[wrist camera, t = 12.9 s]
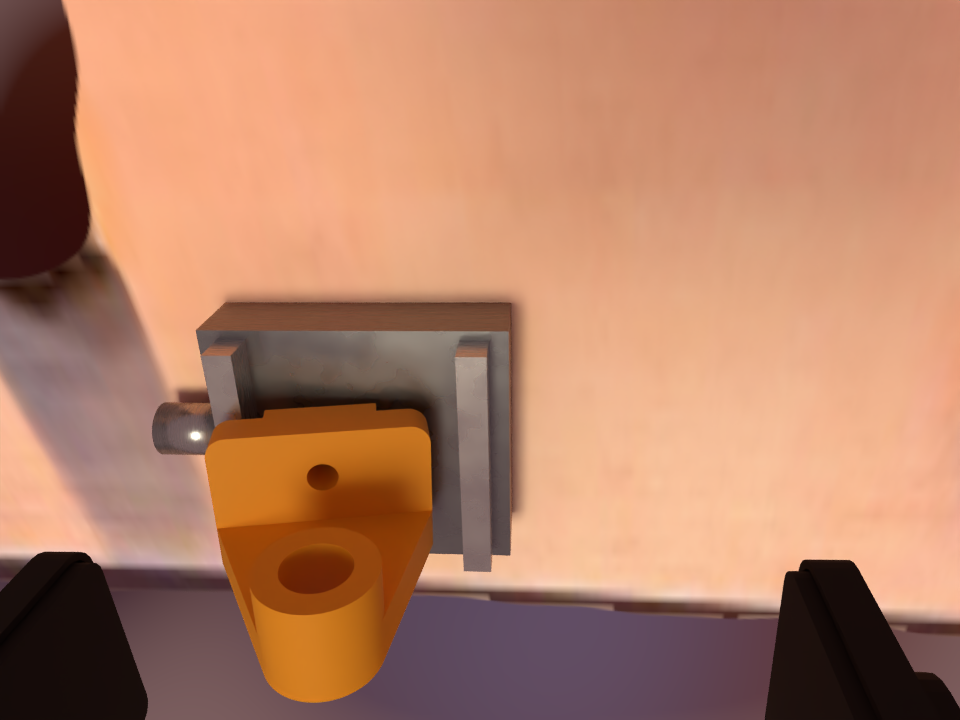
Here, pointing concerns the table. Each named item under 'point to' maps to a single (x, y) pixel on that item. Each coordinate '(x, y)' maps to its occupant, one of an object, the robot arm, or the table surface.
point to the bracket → (322, 537)
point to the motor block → (375, 393)
